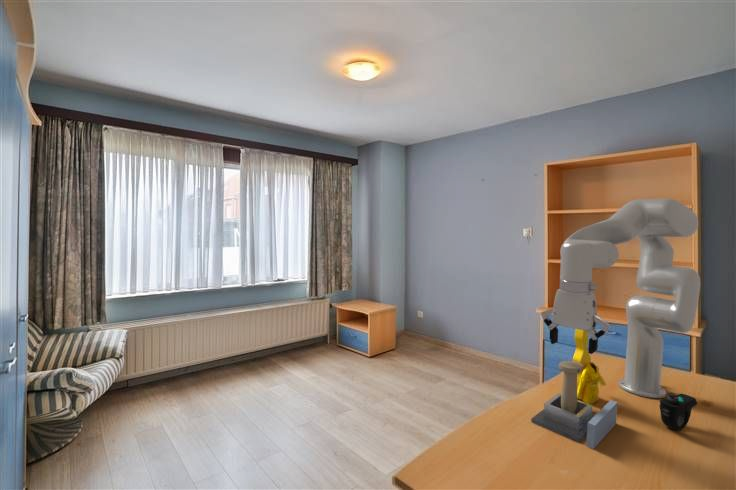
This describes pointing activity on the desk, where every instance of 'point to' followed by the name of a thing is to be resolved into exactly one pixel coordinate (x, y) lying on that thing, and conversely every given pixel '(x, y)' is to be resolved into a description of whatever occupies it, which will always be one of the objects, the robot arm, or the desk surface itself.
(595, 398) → the figure statuette
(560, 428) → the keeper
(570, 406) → the handle
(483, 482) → the desk surface
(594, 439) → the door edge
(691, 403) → the controller
